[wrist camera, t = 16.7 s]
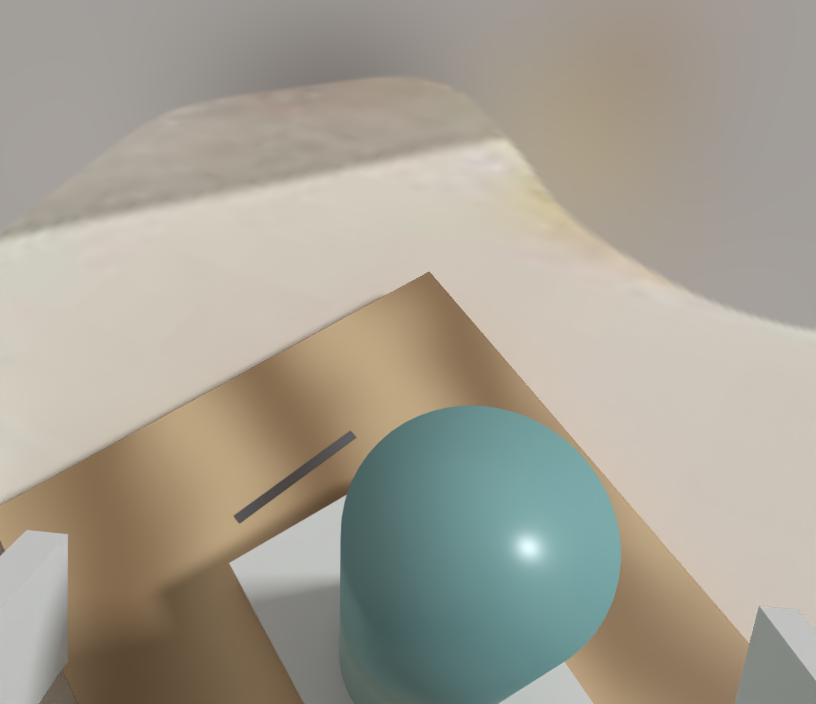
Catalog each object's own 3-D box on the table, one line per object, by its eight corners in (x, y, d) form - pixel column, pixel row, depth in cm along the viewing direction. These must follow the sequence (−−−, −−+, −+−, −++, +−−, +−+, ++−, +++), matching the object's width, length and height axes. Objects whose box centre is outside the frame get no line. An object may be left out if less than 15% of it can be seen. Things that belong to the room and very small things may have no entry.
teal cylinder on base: (413, 477, 24) (470, 232, 14) (599, 751, 21) (860, 699, 10) (237, 581, 22) (149, 386, 12) (410, 904, 19) (501, 1027, 8)
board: (425, 294, 29) (429, 270, 28) (842, 789, 22) (874, 788, 21) (6, 528, 24) (-14, 512, 23) (375, 1292, 17) (378, 1334, 15)
